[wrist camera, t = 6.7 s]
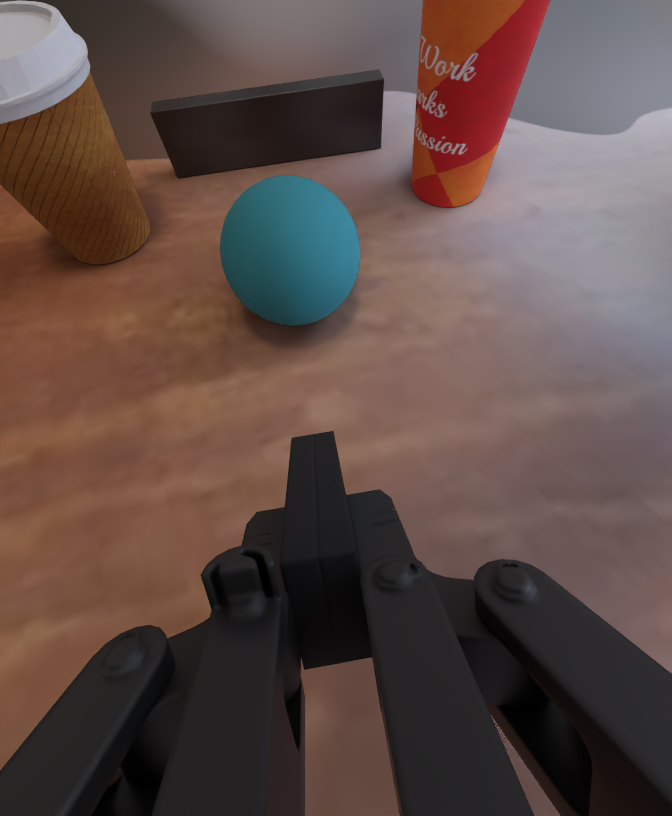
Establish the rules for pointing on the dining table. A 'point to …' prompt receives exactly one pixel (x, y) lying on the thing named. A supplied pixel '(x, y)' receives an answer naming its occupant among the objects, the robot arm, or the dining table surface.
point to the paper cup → (467, 90)
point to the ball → (290, 250)
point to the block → (271, 123)
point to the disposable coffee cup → (62, 139)
